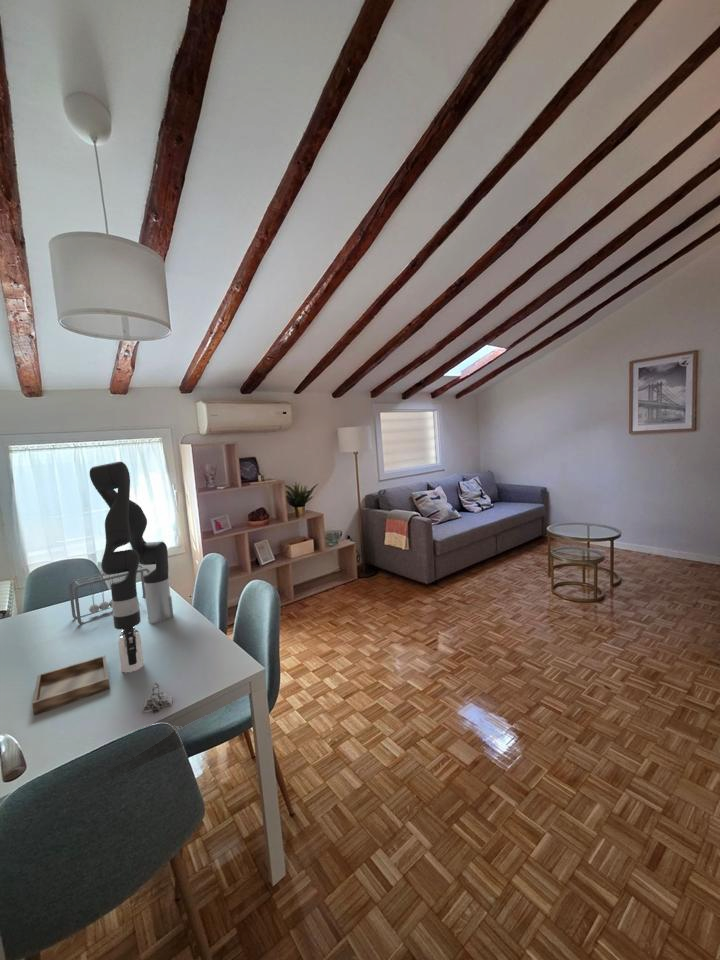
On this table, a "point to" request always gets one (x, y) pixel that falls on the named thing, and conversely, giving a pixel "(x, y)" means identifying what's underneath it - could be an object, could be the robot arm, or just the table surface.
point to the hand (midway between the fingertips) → (131, 660)
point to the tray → (70, 684)
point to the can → (124, 657)
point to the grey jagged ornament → (153, 702)
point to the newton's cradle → (94, 607)
